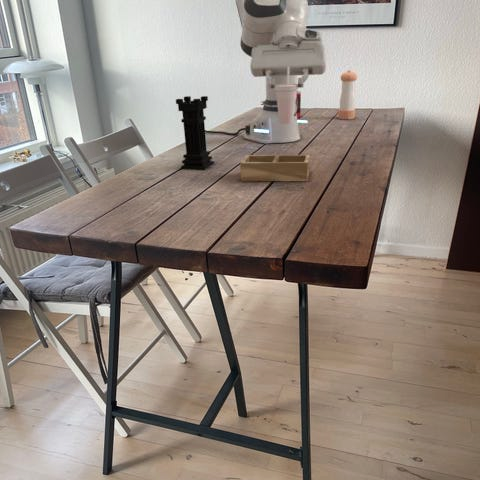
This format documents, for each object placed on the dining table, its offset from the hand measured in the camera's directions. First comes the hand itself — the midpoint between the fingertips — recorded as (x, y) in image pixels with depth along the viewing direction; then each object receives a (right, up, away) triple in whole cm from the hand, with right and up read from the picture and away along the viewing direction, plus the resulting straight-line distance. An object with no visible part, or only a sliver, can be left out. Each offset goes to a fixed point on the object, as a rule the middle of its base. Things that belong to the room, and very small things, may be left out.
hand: (286, 86), depth 133 cm
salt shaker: (+35, +28, +91) cm, 102 cm away
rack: (-2, -21, +10) cm, 24 cm away
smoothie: (0, -8, +5) cm, 10 cm away
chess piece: (-26, -14, +25) cm, 39 cm away
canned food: (+12, +31, +98) cm, 104 cm away
